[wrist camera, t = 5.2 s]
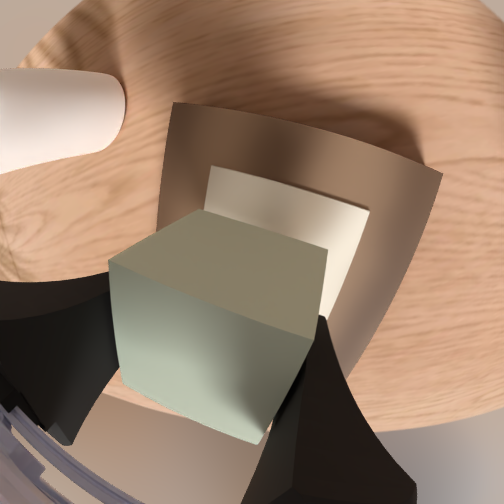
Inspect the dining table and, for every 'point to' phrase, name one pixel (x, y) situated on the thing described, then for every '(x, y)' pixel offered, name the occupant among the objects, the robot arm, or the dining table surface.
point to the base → (306, 203)
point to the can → (56, 114)
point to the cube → (216, 319)
